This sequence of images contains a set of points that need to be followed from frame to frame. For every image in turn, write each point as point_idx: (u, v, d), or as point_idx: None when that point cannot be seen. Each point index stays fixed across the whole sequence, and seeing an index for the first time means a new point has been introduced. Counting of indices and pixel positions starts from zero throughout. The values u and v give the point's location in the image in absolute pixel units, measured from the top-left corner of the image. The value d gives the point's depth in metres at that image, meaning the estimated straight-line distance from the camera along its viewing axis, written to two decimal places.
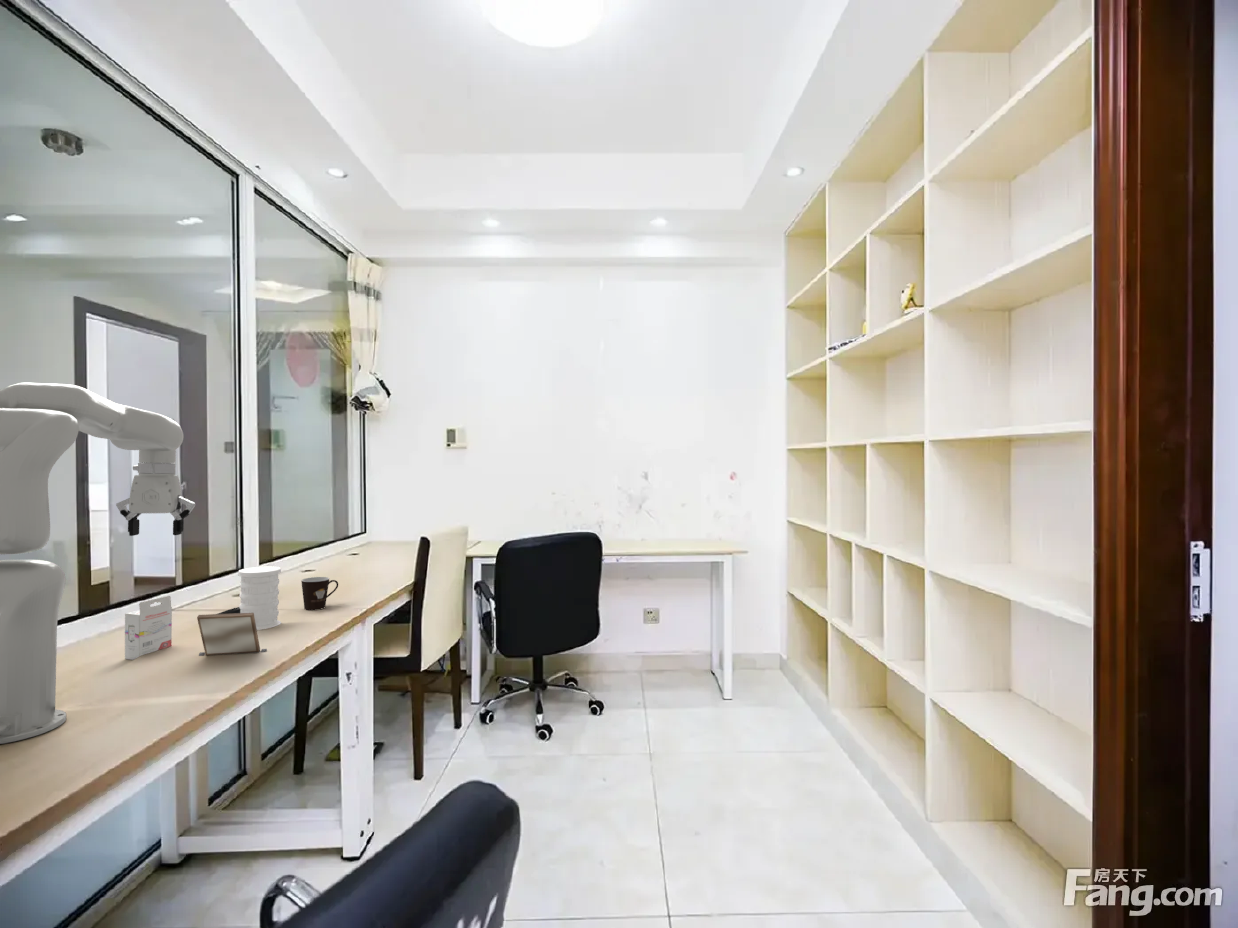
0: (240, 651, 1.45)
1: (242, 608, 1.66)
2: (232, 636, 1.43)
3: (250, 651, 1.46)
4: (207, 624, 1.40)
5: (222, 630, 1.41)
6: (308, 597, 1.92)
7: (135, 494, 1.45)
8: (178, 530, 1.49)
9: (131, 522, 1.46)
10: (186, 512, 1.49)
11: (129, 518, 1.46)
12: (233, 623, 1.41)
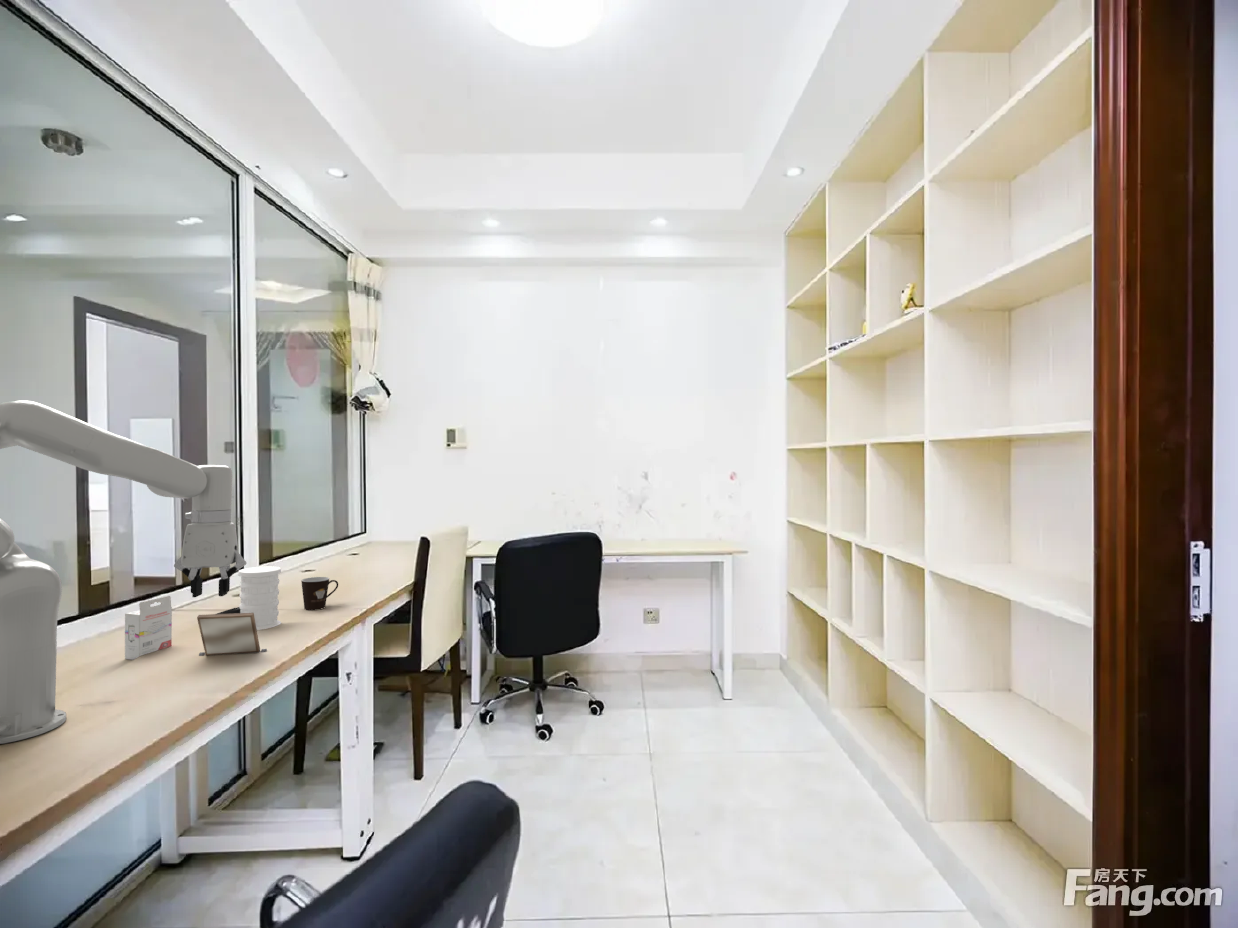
0: (240, 651, 1.45)
1: (242, 608, 1.66)
2: (232, 636, 1.43)
3: (250, 651, 1.46)
4: (207, 624, 1.40)
5: (222, 630, 1.41)
6: (308, 597, 1.92)
7: (188, 546, 1.28)
8: (224, 590, 1.32)
9: (194, 582, 1.30)
10: (233, 570, 1.32)
11: (192, 577, 1.30)
12: (233, 623, 1.41)
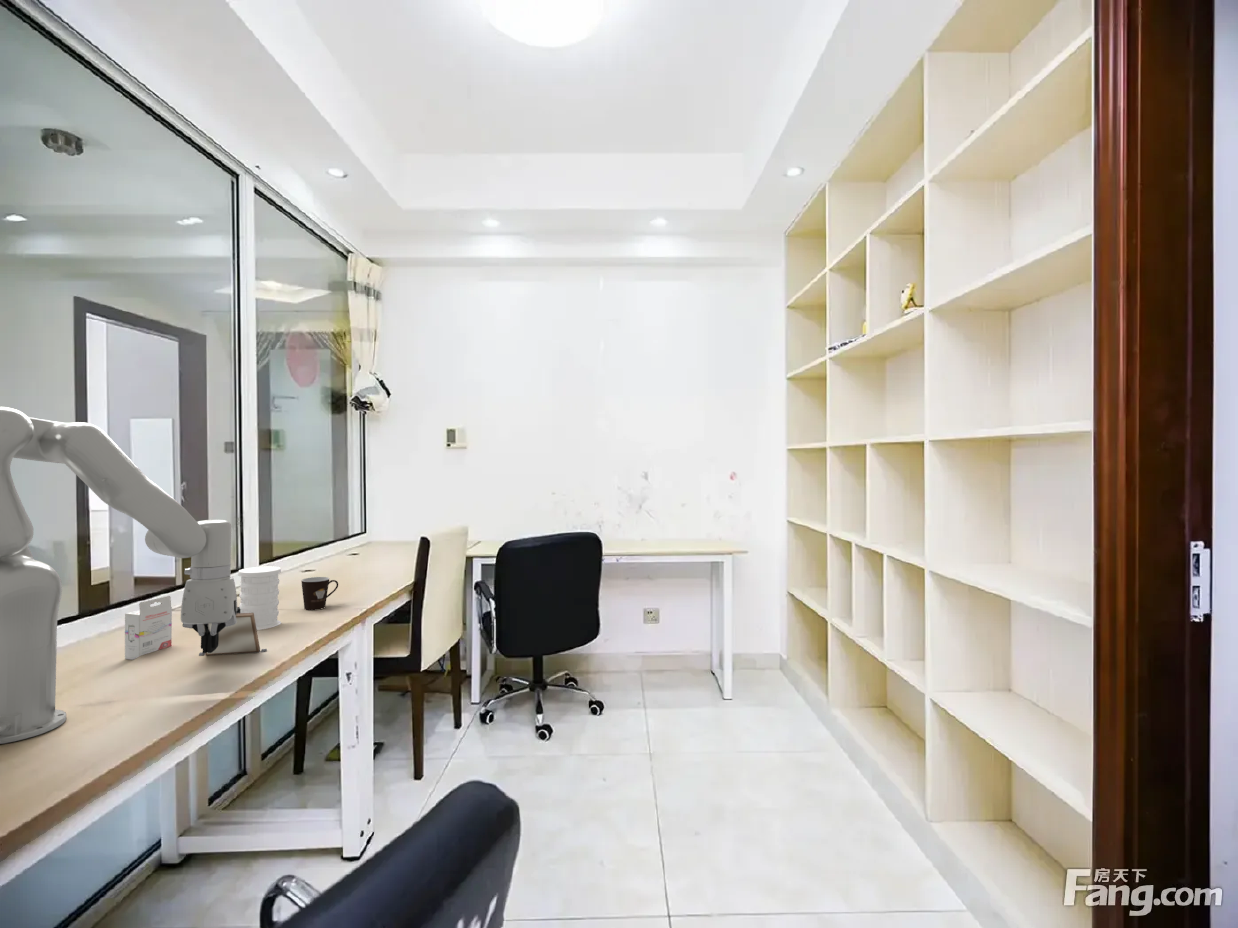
0: (240, 651, 1.45)
1: (242, 608, 1.66)
2: (232, 636, 1.43)
3: (250, 651, 1.46)
4: None
5: (222, 630, 1.41)
6: (308, 597, 1.92)
7: (187, 603, 1.29)
8: (213, 646, 1.31)
9: (205, 638, 1.30)
10: (222, 626, 1.32)
11: (202, 633, 1.30)
12: None
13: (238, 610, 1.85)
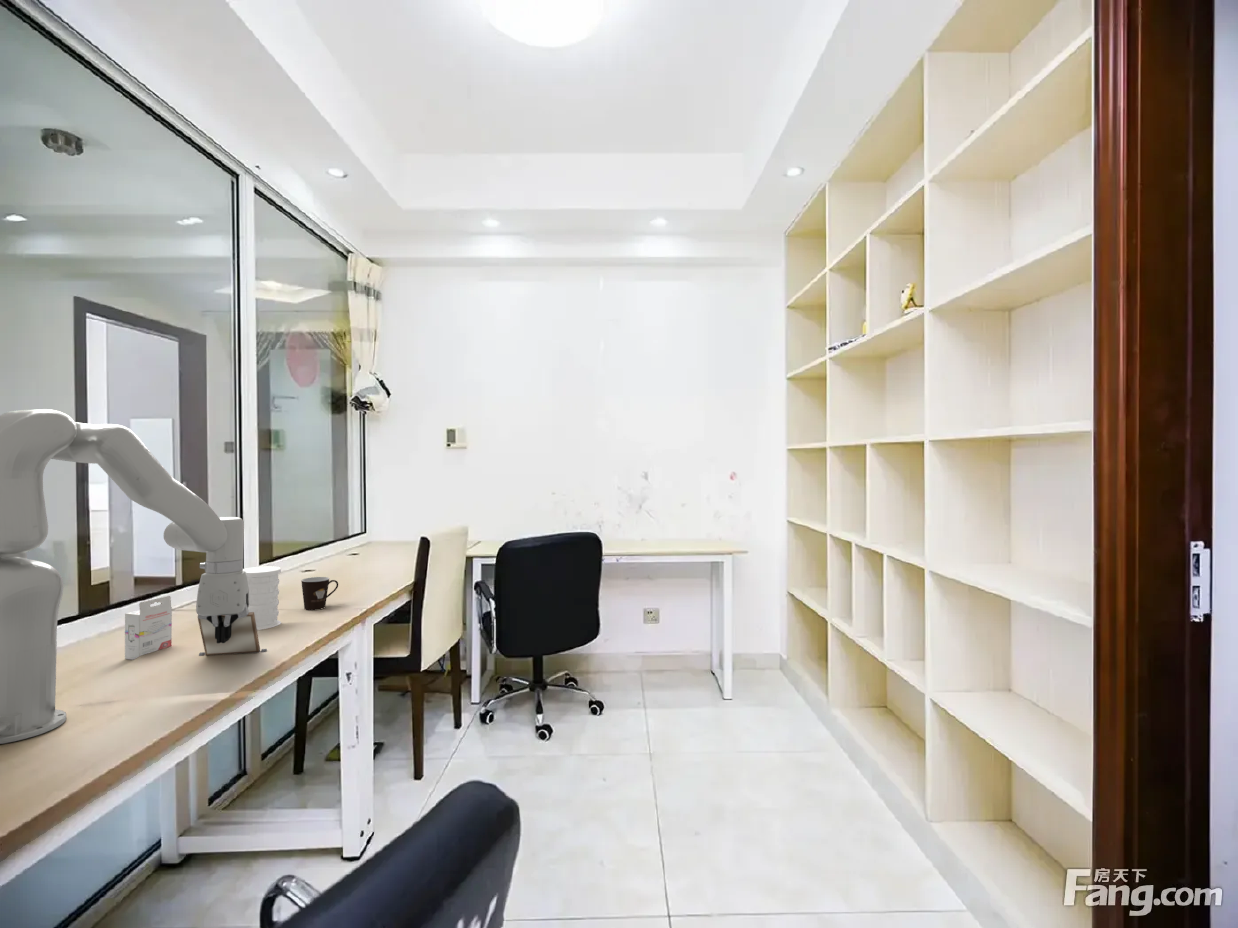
0: (240, 651, 1.45)
1: None
2: (232, 636, 1.43)
3: (250, 651, 1.46)
4: (207, 623, 1.40)
5: None
6: (308, 597, 1.92)
7: (203, 595, 1.36)
8: (226, 637, 1.39)
9: (218, 629, 1.37)
10: (235, 617, 1.39)
11: (216, 624, 1.38)
12: (233, 622, 1.41)
13: None
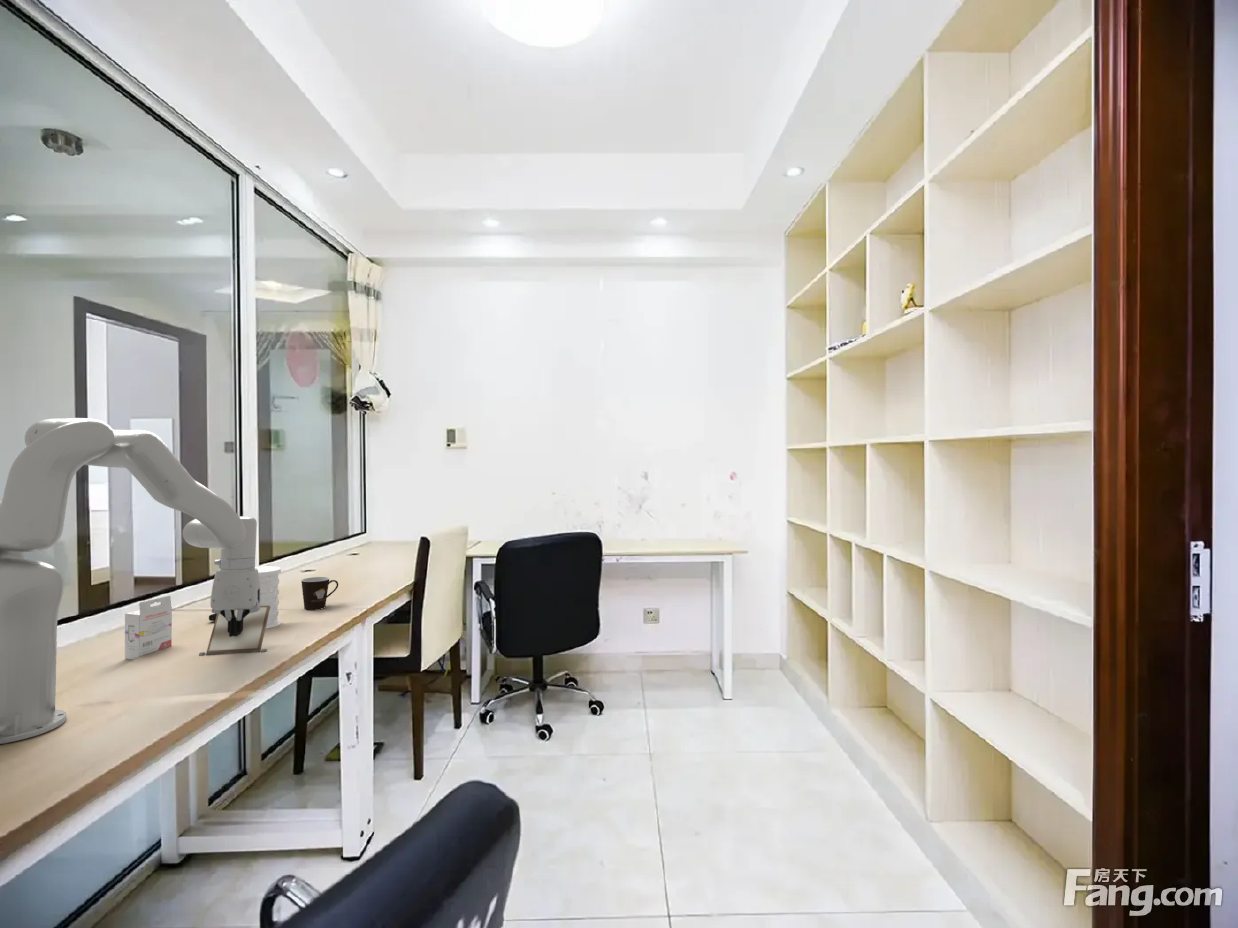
0: (241, 648, 1.46)
1: None
2: None
3: (251, 648, 1.46)
4: None
5: None
6: (308, 597, 1.92)
7: (217, 590, 1.43)
8: (238, 631, 1.46)
9: (231, 623, 1.45)
10: (246, 612, 1.46)
11: (229, 618, 1.45)
12: (248, 614, 1.51)
13: None
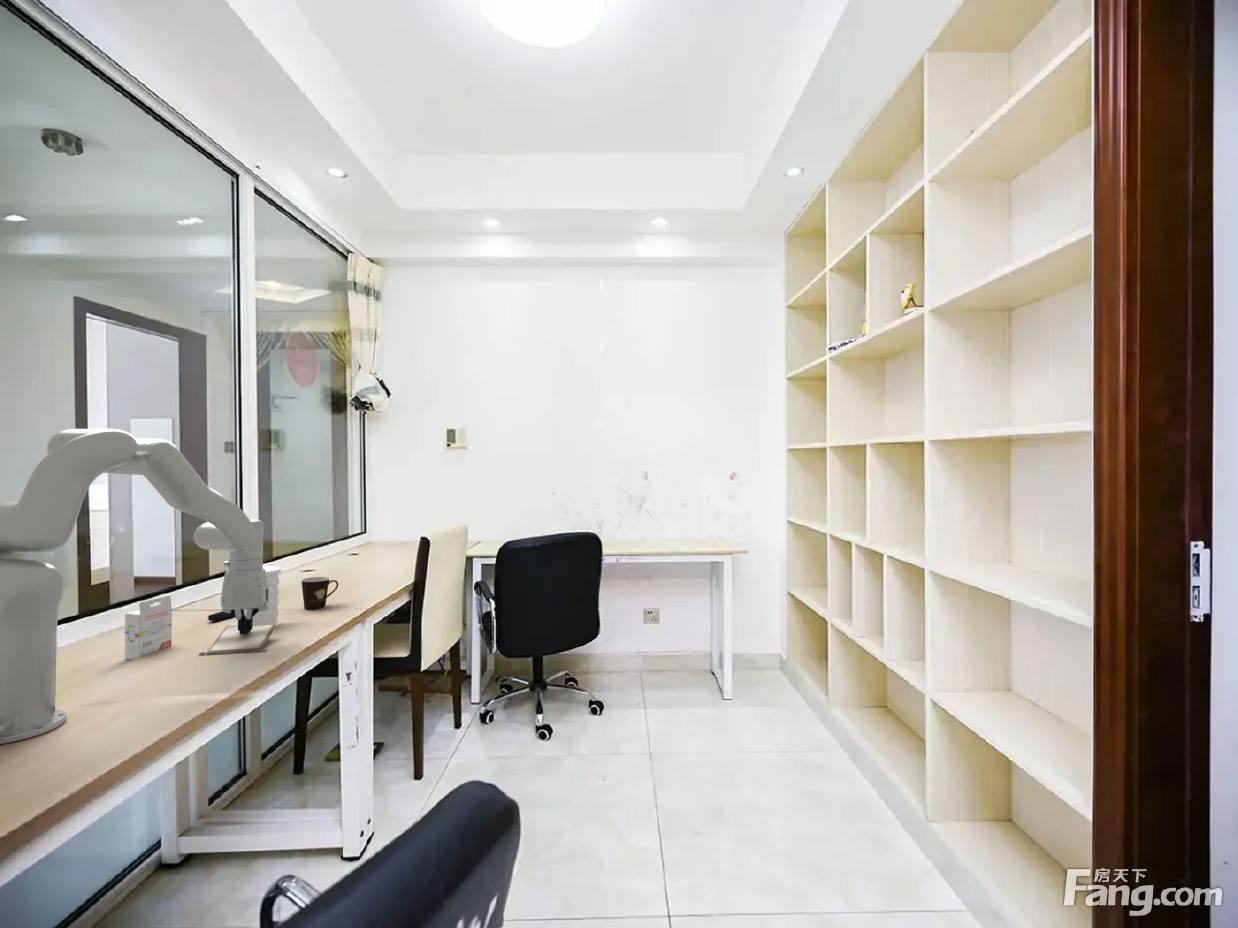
0: (242, 648, 1.46)
1: None
2: (245, 638, 1.51)
3: (252, 648, 1.47)
4: (231, 629, 1.53)
5: None
6: (308, 597, 1.92)
7: (227, 591, 1.49)
8: (248, 629, 1.52)
9: (241, 621, 1.51)
10: (256, 611, 1.52)
11: (239, 617, 1.51)
12: (254, 628, 1.55)
13: None
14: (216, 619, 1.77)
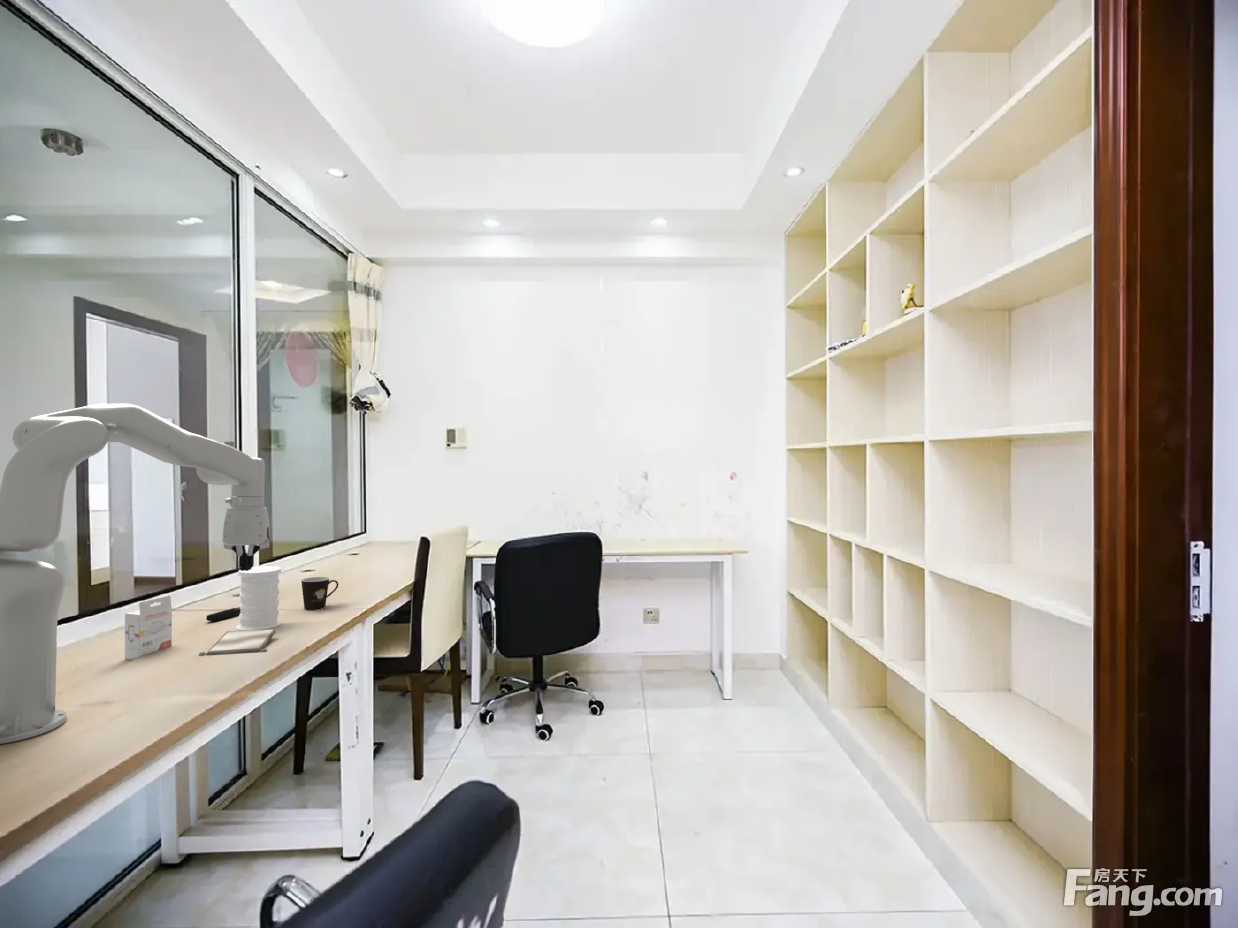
0: (243, 648, 1.46)
1: (242, 608, 1.66)
2: (245, 640, 1.51)
3: (252, 648, 1.47)
4: (231, 634, 1.54)
5: (240, 636, 1.53)
6: (308, 597, 1.92)
7: (228, 527, 1.50)
8: (249, 566, 1.53)
9: (242, 558, 1.52)
10: (257, 548, 1.53)
11: (240, 554, 1.52)
12: (254, 633, 1.55)
13: (237, 610, 1.84)
14: (214, 619, 1.77)
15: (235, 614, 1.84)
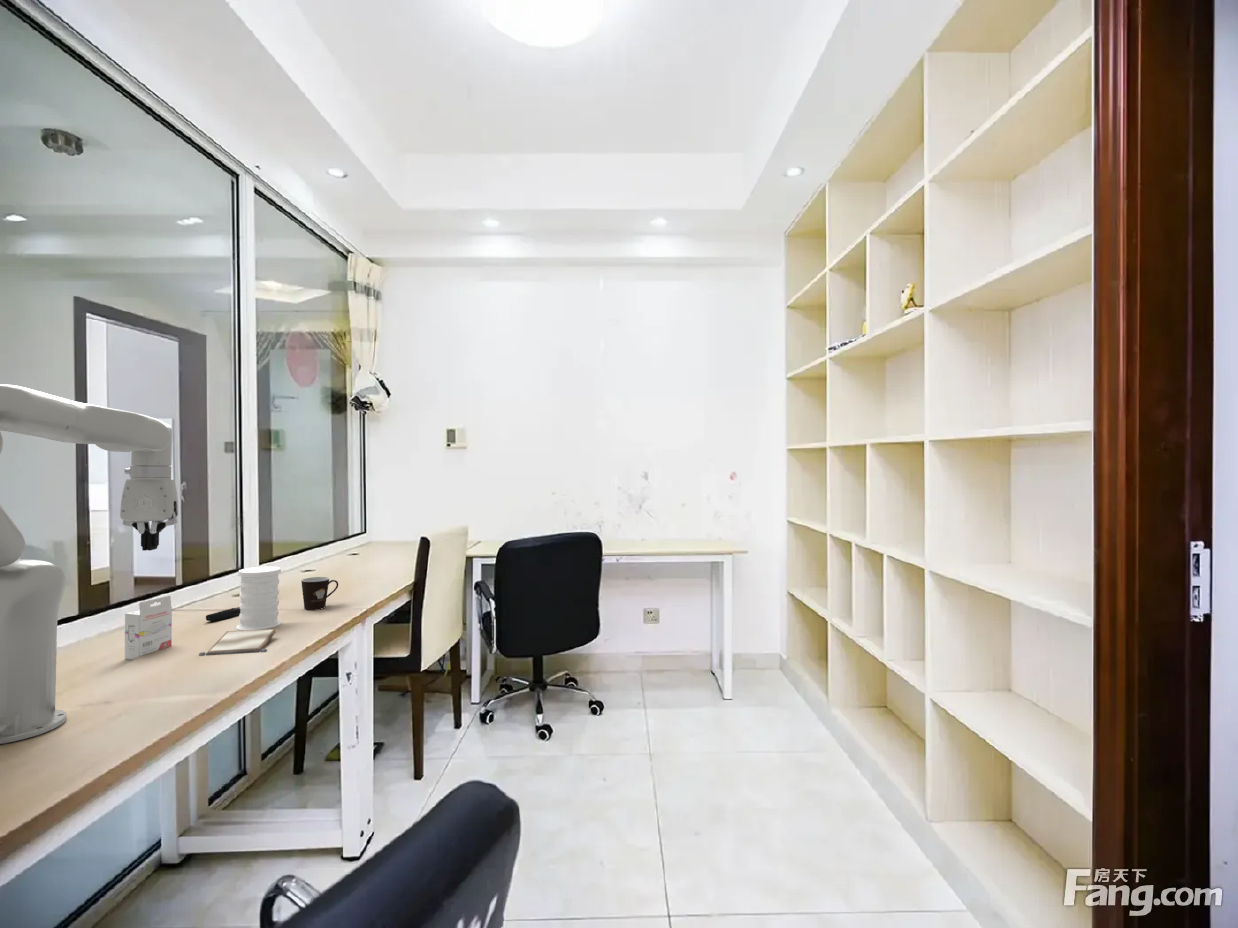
0: (243, 648, 1.46)
1: (242, 608, 1.66)
2: (245, 640, 1.51)
3: (252, 648, 1.47)
4: (231, 634, 1.54)
5: (240, 636, 1.53)
6: (308, 597, 1.92)
7: (127, 500, 1.32)
8: (153, 545, 1.35)
9: (144, 536, 1.34)
10: (162, 525, 1.35)
11: (142, 531, 1.34)
12: (254, 633, 1.55)
13: (237, 610, 1.84)
14: (213, 619, 1.77)
15: (234, 614, 1.83)
